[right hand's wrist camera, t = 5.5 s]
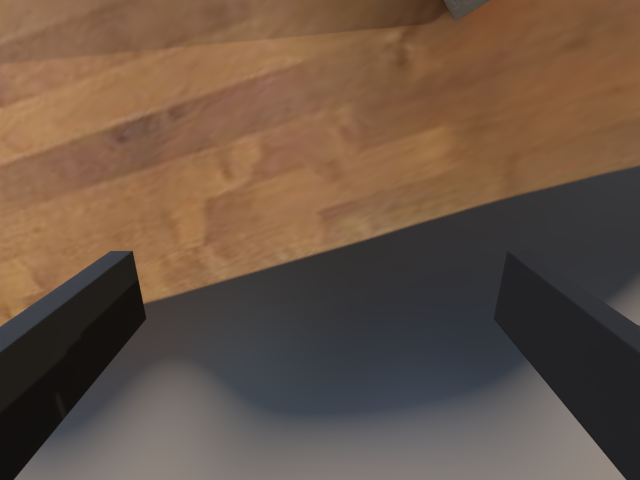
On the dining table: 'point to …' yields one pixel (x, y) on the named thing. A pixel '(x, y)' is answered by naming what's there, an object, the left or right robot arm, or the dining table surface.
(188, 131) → the dining table surface
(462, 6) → the hard drive box
